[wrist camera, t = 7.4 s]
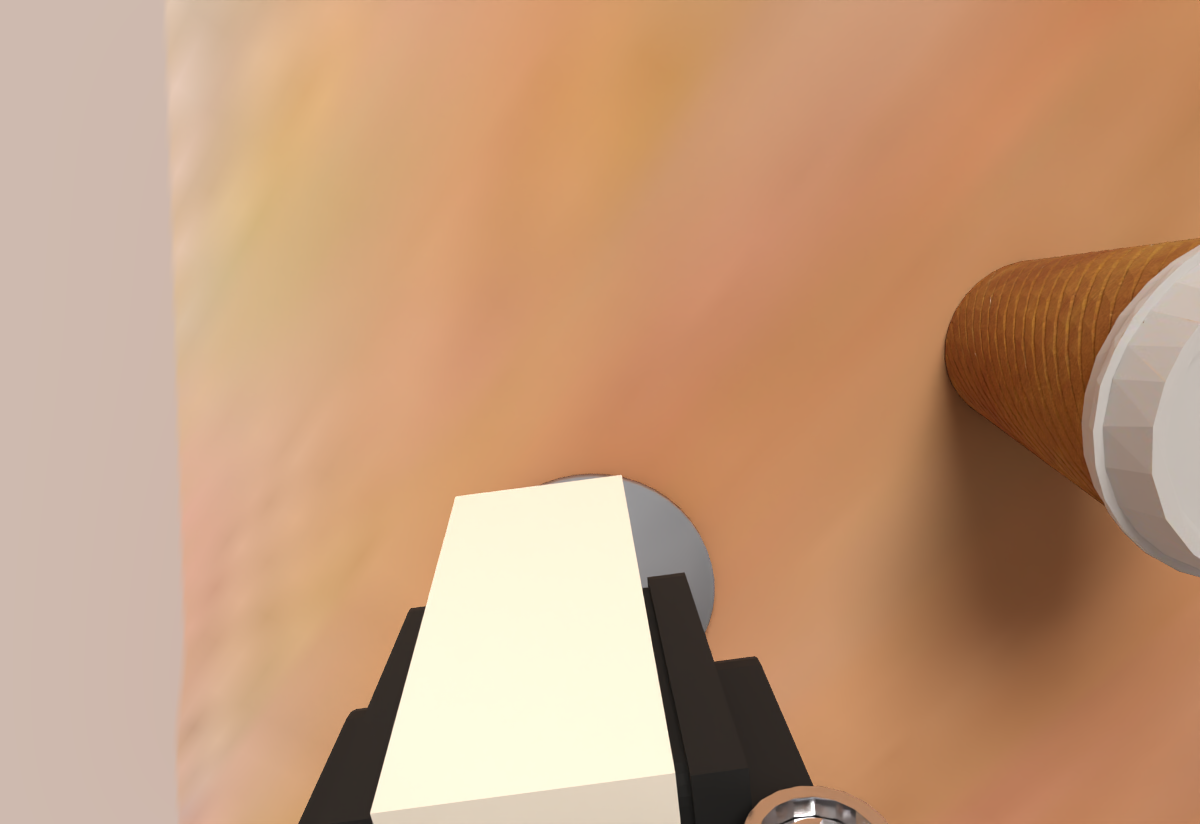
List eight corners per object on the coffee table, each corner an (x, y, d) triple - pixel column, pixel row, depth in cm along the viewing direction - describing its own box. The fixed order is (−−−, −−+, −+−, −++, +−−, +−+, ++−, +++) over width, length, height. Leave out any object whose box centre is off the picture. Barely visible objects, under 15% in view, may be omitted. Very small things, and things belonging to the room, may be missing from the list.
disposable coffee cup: (872, 433, 29) (1071, 568, 18) (948, 190, 27) (1231, 161, 16) (1091, 478, 30) (1418, 635, 19) (1182, 246, 28) (1616, 257, 16)
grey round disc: (700, 458, 29) (703, 463, 29) (721, 678, 32) (724, 686, 31) (450, 491, 29) (448, 496, 29) (491, 709, 32) (489, 718, 31)
